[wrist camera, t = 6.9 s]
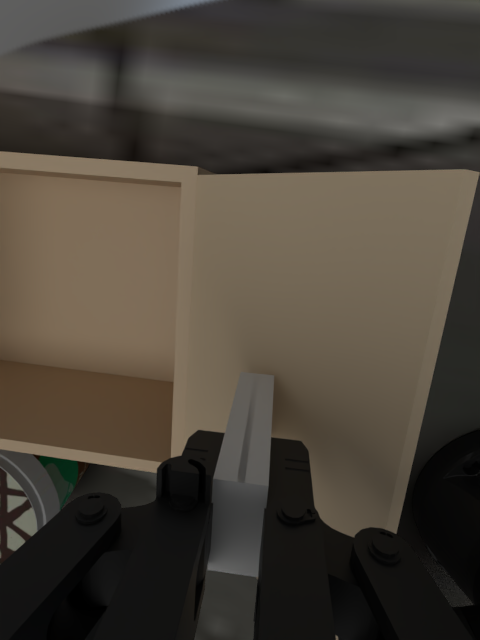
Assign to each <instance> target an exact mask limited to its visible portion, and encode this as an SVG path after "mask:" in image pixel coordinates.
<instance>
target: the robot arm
mask: <svg viewBox="0 0 480 640" xmlns="http://www.w3.org/2000/svg"><path fill="white" fill-rule="evenodd" d="M273 390H274V375H266V374H256V373H247V372H241V373H240V376H239V380H238V384H237V388H236V392H235V396H234V400H233V404H232V407H231V411H230V415H229V419H228V423H227V427H226V431H225V433H221V432H213V431H204V430H197V431H196V432H195V433H194V434H192V435H191V436H190V437H189V438H188V440H187V443H186V445H185V448H184V450H183V452H182V455H181V456H177V457H172V458H169V459H167V460H165V461H164V462H162V463H161V464H160V465H159V467H158V468H157V493H156V500H155V501H154V502H152V503H149V504H146V505H142V506H137V507H129V508H121V504H120V502H119V501H118V499H117V498H115V497H114V496H112V495H110V494H105V493H90V494H86V495H83V496H81V497H78V498H76V499H75V500H73V501H72V502H70V503H69V504H68V505H66V506H65V507H64V508H63V509H62V510H61V511H60V512H59V513H57V514H56V515H55V516H54V517H53V518H52V519H51V520H50V521H48V522H47V523H46V524H45V525H44V526H43V527H42V528H41V529H40V530H38V531H37V532H36V533H35V534H34V535H33V536H32V537H31V538H29V539H28V540H27V541H26V542H25V543H24V544H23V545H22V546H20V547H19V548H18V549H17V550H16V551H15V552H14V553H13V554H11V555H10V556H9V557H8V558H7V559H6V560H5V561H4V562H2V563H1V564H0V640H194V637H195V632H196V628H197V623H198V618H199V614H200V609H201V604H202V599H203V595H204V590H205V574H206V569H207V564H208V570H212V571H219V572H226V573H232V574H239V575H246V576H253V577H258V584H257V593H256V603H255V613H254V621H255V623H254V639H253V640H336V636H338V640H480V431H476V432H473V433H471V434H468V435H466V436H463V437H461V438H459V439H457V440H455V441H453V442H452V443H450V444H448V445H447V446H446V447H444V448H443V449H442V450H440V451H439V452H438V453H437V454H436V455H435V456H434V457H433V458H432V459H431V460H430V461H429V462H428V463H427V465H426V466H425V467H424V469H423V470H422V472H421V474H420V476H419V478H418V480H417V482H416V485H415V489H414V493H413V501H412V506H413V514H414V519H415V522H416V525H417V527H418V530H419V532H420V535H421V537H422V540H423V542H424V544H425V546H426V548H427V550H428V551H429V553H430V555H431V556H432V558H433V559H434V560H435V561H436V562H437V564H438V565H439V566H440V567H441V568H442V569H443V570H444V571H445V572H446V573H448V574H449V575H450V576H451V577H452V579H453V580H454V581H455V582H456V584H457V585H458V586H459V587H460V588H461V590H462V591H463V592H464V593H465V594H466V595H467V597H468V598H469V599H470V600H471V601H472V603H473V604H474V605H471V606H463V607H451V606H450V604H449V603H448V601H447V600H446V598H445V597H444V595H443V594H442V592H441V591H440V589H439V588H438V586H437V585H436V583H435V582H434V580H433V579H432V577H431V576H430V574H429V573H428V571H427V570H426V568H425V567H424V565H423V564H422V562H421V561H420V559H419V558H418V556H417V555H416V553H415V552H414V550H413V549H412V548H411V547H410V546H409V544H408V543H407V542H406V541H405V540H404V539H403V538H401V537H399V536H398V535H396V534H395V533H393V532H391V531H388V530H385V529H382V528H374V527H369V528H365V529H361V530H360V531H359V532H358V533H357V534H355V537H351V536H349V535H346V534H343V533H341V532H339V531H337V530H335V529H333V528H331V527H330V526H328V525H327V524H326V523H324V521H323V520H322V519H321V518H320V516H319V513H318V511H317V510H316V509H315V506H314V497H313V487H312V478H311V468H310V459H309V451H308V449H307V448H306V447H305V445H304V444H303V443H302V441H299V440H291V439H282V438H273V437H271V429H272V409H273ZM335 635H336V636H335Z"/></svg>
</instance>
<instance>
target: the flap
mask: <svg viewBox="0 0 480 640" xmlns="http://www.w3.org/2000/svg"><path fill="white" fill-rule="evenodd" d="M479 173H480V172H476V171H471V170H466V169H456V170H409V171H362V172H314V173H267V174H220V175H197V187H196V207H195V228H194V248H193V269H192V289H191V310H190V330H189V351H188V371H187V392H186V412H185V433H184V448H185V445H186V443H187V440H188V438H189V437H190V436H191V435H192V434H194V433H195V432H196V431H197V430H204V431H213V432H221V433H225V431H226V427H227V423H228V419H229V415H230V411H231V407H232V404H233V400H234V396H235V392H236V388H237V384H238V380H239V376H240V373H241V372H247V373H256V374H266V375H274V390H273V409H272V429H271V437H273V438H282V439H291V440H299V441H302V443H303V444H304V445H305V447H306V448H307V449H308V451H309V459H310V468H311V478H312V487H313V497H314V506H315V509H316V510H317V511H318V513H319V516H320V518H321V519H322V520H323V521H324V523H326V524H327V525H328V526H330V527H331V528H333V529H335V530H337V531H339V532H341V533H343V534H346V535H349V536H351V537H355V534H357V533H358V532H359V531H360V530H361V529H365V528H369V527H374V528H382V529H385V530H388V531H391V532H393V533H395V534H396V533H397V529H398V525H399V520H400V516H401V512H402V507H403V503H404V499H405V494H406V490H407V486H408V481H409V477H410V473H411V468H412V464H413V460H414V455H415V451H416V447H417V442H418V438H419V433H420V429H421V425H422V420H423V416H424V412H425V407H426V403H427V399H428V394H429V390H430V386H431V381H432V377H433V373H434V368H435V364H436V360H437V355H438V351H439V347H440V342H441V338H442V334H443V329H444V325H445V320H446V316H447V312H448V307H449V303H450V299H451V294H452V290H453V286H454V281H455V277H456V273H457V268H458V264H459V260H460V255H461V251H462V247H463V242H464V238H465V234H466V229H467V225H468V221H469V216H470V212H471V208H472V203H473V199H474V194H475V190H476V186H477V181H478V177H479ZM257 579H258V577H257ZM335 636H336V635H335ZM336 640H338V636H336Z"/></svg>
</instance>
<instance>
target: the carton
mask: <svg viewBox="0 0 480 640" xmlns="http://www.w3.org/2000/svg"><path fill="white" fill-rule="evenodd" d="M197 175H217V174H214V173H212V172H210V171H207V170H205V169H203V168H200V167H197V166H184V165H171V164H158V163H145V162H132V161H119V160H106V159H93V158H79V157H66V156H53V155H40V154H27V153H14V152H1V151H0V449H2V450H9V451H15V452H22V453H28V454H35V455H42V456H48V457H55V458H61V459H68V460H75V461H81V462H88V463H94V464H101V465H108V466H114V467H121V468H127V469H134V470H141V471H147V472H154V473H157V468H158V467H159V465H160V464H161V463H162V462H164V461H165V460H167V459H169V458H172V457H177V456H181V455H182V452H183V450H184V433H185V412H186V392H187V371H188V351H189V330H190V310H191V289H192V269H193V248H194V228H195V207H196V187H197Z"/></svg>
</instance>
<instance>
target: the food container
mask: <svg viewBox="0 0 480 640" xmlns="http://www.w3.org/2000/svg"><path fill="white" fill-rule="evenodd" d="M89 464H90V463H88V462H81V461H75V460H68V459H61V458H55V457H48V456H42V455H35V454H28V453H22V452H15V451H9V450H2V449H0V564H1V563H2V562H4V561H5V560H6V559H7V558H8V557H9V556H10V555H11V554H13V553H14V552H15V551H16V550H17V549H18V548H19V547H20V546H22V545H23V544H24V543H25V542H26V541H27V540H28V539H29V538H31V537H32V536H33V535H34V534H35V533H36V532H37V531H38V530H40V529H41V528H42V527H43V526H44V525H45V524H46V523H47V522H48V521H50V520H51V519H52V518H53V517H54V516H55V515H56V514H57V513H59V512H60V510H61V508H62V507H63V505H64V504H65V502H66V501H67V499H68V498H69V496H70V494H71V493H72V491H73V490H74V488H75V487H76V485H77V484H78V482H79V480H80V479H81V477H82V476H83V474H84V473H85V471H86V470H87V468H88V466H89Z"/></svg>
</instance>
